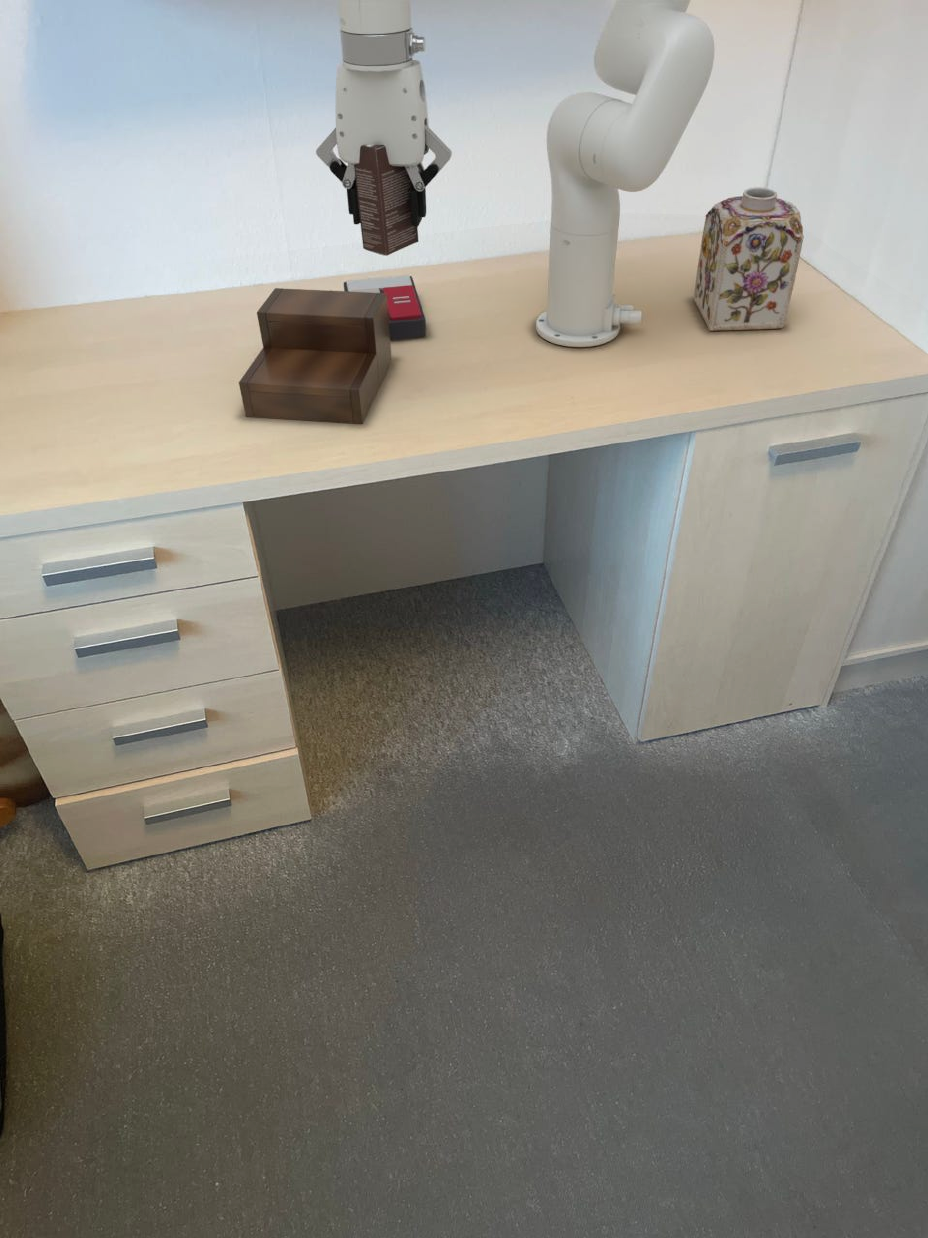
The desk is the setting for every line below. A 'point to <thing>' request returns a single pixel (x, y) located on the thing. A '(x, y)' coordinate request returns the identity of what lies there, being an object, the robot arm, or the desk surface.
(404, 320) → the calculator
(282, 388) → the step shelf
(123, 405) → the desk surface
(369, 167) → the box
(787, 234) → the decorative jar
